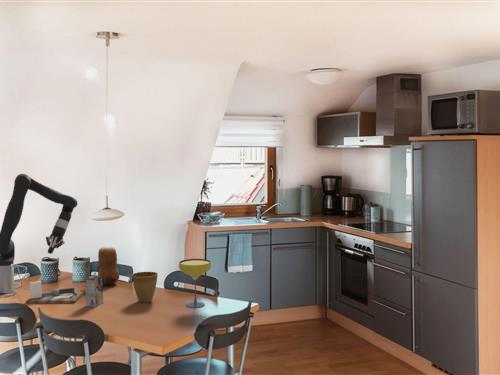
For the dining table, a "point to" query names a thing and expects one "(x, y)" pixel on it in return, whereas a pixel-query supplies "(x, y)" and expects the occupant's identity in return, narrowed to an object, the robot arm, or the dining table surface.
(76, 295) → the board
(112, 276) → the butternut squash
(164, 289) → the dining table surface
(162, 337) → the dining table surface
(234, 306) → the dining table surface
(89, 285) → the coffee box
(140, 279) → the plant pot
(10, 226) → the robot arm
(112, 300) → the dining table surface
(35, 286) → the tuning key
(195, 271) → the cocktail glass
